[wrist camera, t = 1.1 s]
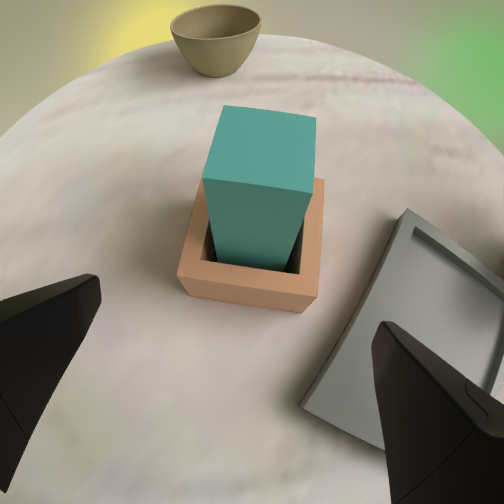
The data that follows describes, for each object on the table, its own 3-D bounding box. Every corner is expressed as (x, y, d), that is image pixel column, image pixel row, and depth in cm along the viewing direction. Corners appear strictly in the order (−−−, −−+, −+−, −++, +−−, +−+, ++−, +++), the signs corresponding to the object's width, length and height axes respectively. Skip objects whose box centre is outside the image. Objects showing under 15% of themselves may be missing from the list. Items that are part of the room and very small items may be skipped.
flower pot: (178, 52, 35) (172, 9, 28) (252, 45, 36) (254, 2, 29) (176, 95, 31) (167, 44, 25) (265, 86, 32) (269, 35, 25)
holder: (302, 313, 23) (317, 296, 18) (189, 295, 23) (176, 275, 18) (310, 213, 26) (324, 179, 21) (211, 199, 26) (205, 162, 22)
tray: (445, 476, 17) (458, 480, 15) (298, 405, 20) (303, 408, 18) (511, 304, 23) (524, 299, 21) (398, 218, 26) (407, 208, 24)
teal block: (278, 283, 24) (312, 193, 12) (220, 274, 24) (201, 177, 12) (284, 231, 25) (316, 117, 14) (230, 223, 25) (223, 105, 14)
